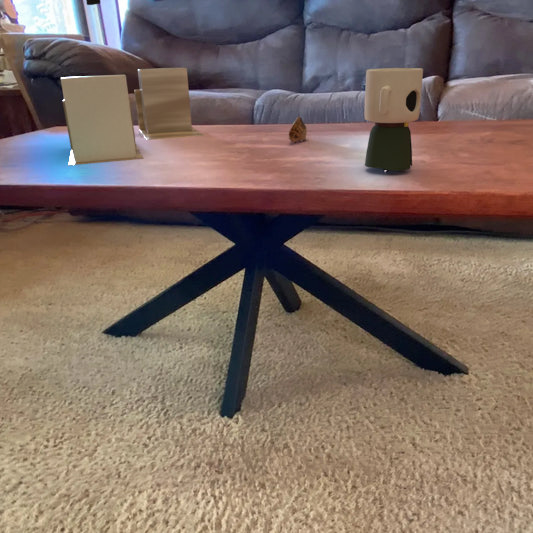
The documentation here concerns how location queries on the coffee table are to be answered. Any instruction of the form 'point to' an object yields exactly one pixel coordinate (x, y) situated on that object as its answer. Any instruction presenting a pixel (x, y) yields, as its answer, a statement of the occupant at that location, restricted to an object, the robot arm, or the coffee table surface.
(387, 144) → the toy figurine
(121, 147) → the cream book
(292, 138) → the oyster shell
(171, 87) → the cream rack
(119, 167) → the coffee table surface
